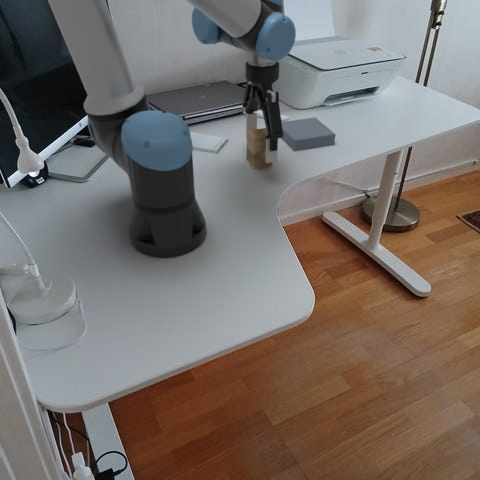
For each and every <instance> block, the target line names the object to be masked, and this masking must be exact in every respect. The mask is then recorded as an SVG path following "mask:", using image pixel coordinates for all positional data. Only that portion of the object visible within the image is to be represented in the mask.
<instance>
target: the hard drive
mask: <svg viewBox="0 0 480 480" xmlns="http://www.w3.org/2000/svg"><path fill="white" fill-rule="evenodd" d="M190 135H191V139H192V145H193V151H198V152H204V153H208V154H215V155H218V153H220V151H221V150H222V149H223V147H224V146H225V145H226V144H227V143H228V142H229V138H228V137H222V136H221V137H220V136H216V135H209V134H204V133H197V132H192V131H190Z"/></svg>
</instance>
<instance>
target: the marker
mask: <svg viewBox="0 0 480 480" xmlns="http://www.w3.org/2000/svg"><path fill="white" fill-rule="evenodd" d="M254 113H257V118H262V119H264V116H263V112H262V110H260V109H258V110H257V111H256V112H254ZM246 114H247V113H245V110H244V112H243V115H246ZM280 115H281V122H286V121H293V119H292V118H291V117H289V116H287V115H282V114H280Z"/></svg>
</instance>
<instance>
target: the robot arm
mask: <svg viewBox="0 0 480 480" xmlns="http://www.w3.org/2000/svg"><path fill="white" fill-rule="evenodd" d="M186 1H187V2H188V3H189V4H190V5H191V6H192V7H193V9H192V12H191V25H192V30H193V33H194V36H195V37H196V39H197V40H198V41H199V42H200V43H201V44H203V45H212V44H213V45H216V44H218V43H224V44H226V45H229V46H231V47H235V48H237V49H241V50H243V51H244V58H245V59H244V60H245V61H246V62H245V65H244V66H245V70H244V71H245V79H246V85H245V90H244V95H243V99H242V104H241V106H242V107H243V108H245V113H247V114H245V138H246V139H245V140H247V131H248V130H255V129H258V117H257V113H254V112H256V111H257V110H261V111H262V112H263V116H264V118H263V120H264V124H265V128H266V129H267V134H268V136H266V137H265V138H266V161H265V162H266V163H271V162H272V163H275V162H278V155H279V151H278V150H279V139H282V138H283V130H282V122H281V115H282V114H281V109H280V103H279V102H280V93H279V91H274V89H273V84H274V83H275V82H277V81H278V80H279V78H280V62H279V61H282V59H284V58H286V57H287V56H288V55H289V54H290V52H291V50H292V49H293V47H294V46H295V45H294V44H295V43H296V35H297V33H296V26H295V23H294V21H293V20H292V19H291V18H290V17H289V16H287V15H285V14H283V13H282V12H283V6H284V4H283V0H186ZM47 2H48V4H49V7H50V8H51V10H52V13H53V16H54V19H55V21H56V23H57V26H58V28H59V30H60V32H61V35H62V38H63V39H64V42H65V44H66V47H67V50H68V52H69V54H70V57H71V58H72V61H73V64H74V65H75V68H76V71H77V73H78V76H79V77H80V81H81V83H82V84H83V87H84V90H85V91H86V94H87V96H86V98H85V100H84V102H83V109H84V111H85V114H86V116H87V127H88V131H89V134H90V137H91V139H92V140H93V142H94V143H95V145H96V147H97V148H98V149H100V150H101V152H103V153H104V154H106V155H107V156H108V157H109V158H110V159H111V160H112V161H113V162H114V163H115V164H116V165H117V166H118V167H119V168H120V169H122V170H123V172H124V173H126V174H127V177H128V179H129V185H130V191H131V196H132V198H131V199H132V209H131V216H130V220H129V224H128V234H129V235H128V236H129V240H130V243H131V245H132V246H133V248H134V249H136V250H137V251H138V252H140V253H142V254H144V255H146V256H149V257H155V258H171V257H177V256H182V255H184V254H188V253H189V252H191V251H193V250H195V249H196V248H198V247H199V246H200V245H201V244H202V243H203V242H204V241H205V238H206V235H207V224H206V223H207V222H206V218H205V216H204V214H203V212H202V210H201V207H200V206H199V203H198V201H197V198H196V193H195V192H196V191H195V190H196V189H195V176H194V175H195V174H194V161H193V160H194V158H193V151H194V150H193V145H192V139H191V135H190V132H191V131H190V129H189V125H188V123H186V121H185V120H184V119H183V118H181V117H180V116H179V115H176V114H174V113H171V112H169V111H166V112H164V111H163V110H155V109H153V110H152V109H151V106H150V103H149V100H148V97H147V95H146V91H145V88H144V87H143V86H142V85H141V84H140V83H137V82H135V81H133V78H132V74H131V72H130V69H129V65H128V64H127V60H126V57H125V55H124V50H123V48H122V45H121V42H120V38H119V36H118V34H117V30H116V27H115V24H114V22H113V18H112V15H111V13H110V10H109V7H108V4H107V1H106V0H47ZM258 107H259V109H258Z"/></svg>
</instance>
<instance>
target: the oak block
mask: <svg viewBox="0 0 480 480" xmlns="http://www.w3.org/2000/svg"><path fill="white" fill-rule="evenodd" d="M266 136H268V134H267V129H266V127H262V128H257V129H255V130H248V131H247V139H246V161H247V162H248V164H249V165H250V166H251V168H252V169H261V168H268V167H271V166H273V162H271V163H266V162H265V161H266V138H265V137H266Z"/></svg>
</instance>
